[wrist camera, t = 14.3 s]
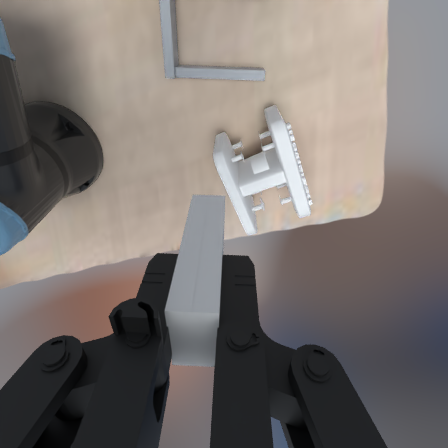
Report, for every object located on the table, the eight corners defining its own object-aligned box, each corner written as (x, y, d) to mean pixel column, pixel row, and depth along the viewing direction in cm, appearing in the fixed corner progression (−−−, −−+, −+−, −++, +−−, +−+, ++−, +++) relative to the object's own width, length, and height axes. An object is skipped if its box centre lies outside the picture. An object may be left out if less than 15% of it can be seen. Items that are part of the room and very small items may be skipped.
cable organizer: (212, 126, 45) (207, 153, 36) (277, 99, 43) (290, 120, 33) (245, 202, 53) (248, 241, 43) (301, 183, 50) (317, 220, 41)
